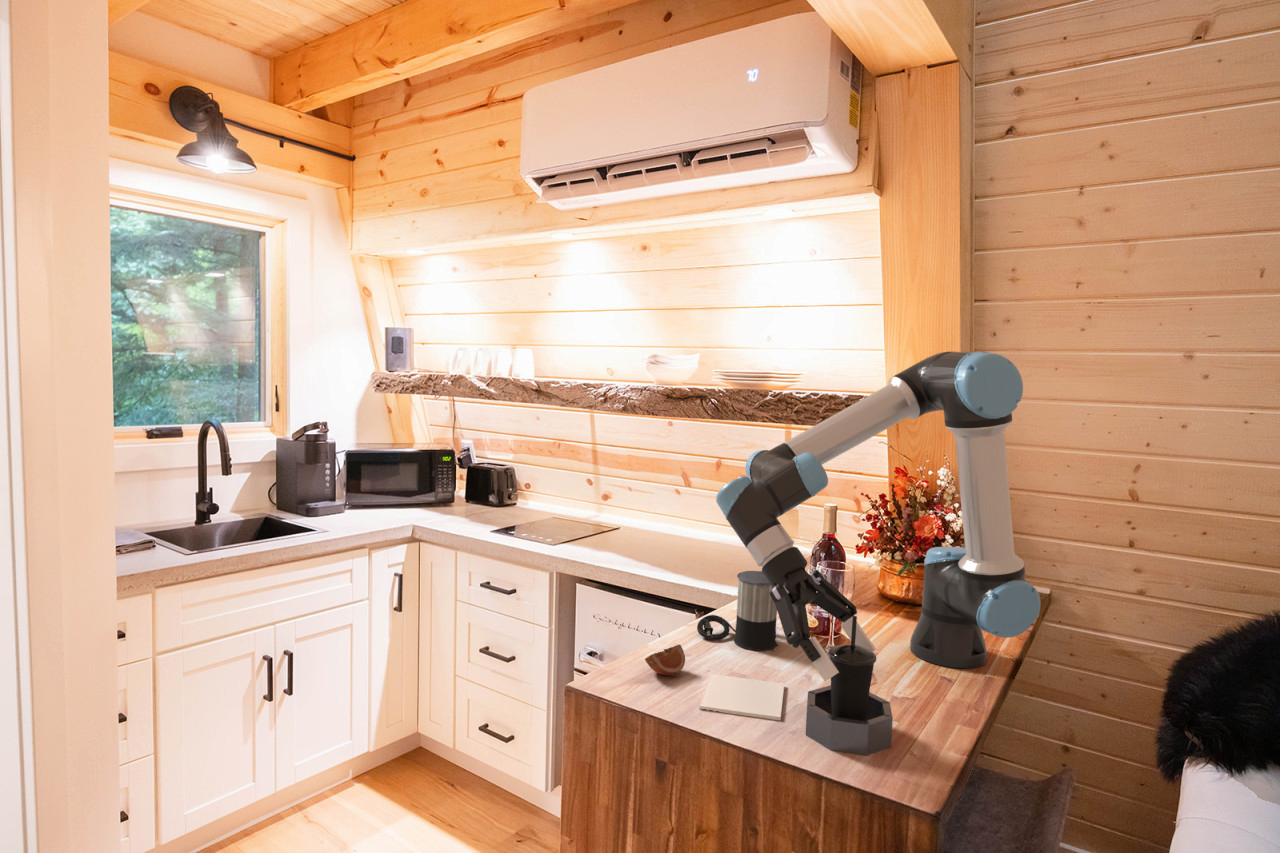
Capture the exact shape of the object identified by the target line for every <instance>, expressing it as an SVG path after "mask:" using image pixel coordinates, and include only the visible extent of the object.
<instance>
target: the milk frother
mask: <svg viewBox="0 0 1280 853" xmlns="http://www.w3.org/2000/svg"><path fill="white" fill-rule="evenodd" d="M736 577H737V579H738V580H737V581H738V582H737V599H736V601H737V603H736V604H737V605H736V621H735V628H734V627H732V625H731V623H729V622H728V621H727V620H726V619H725V618H724V617H722V616H719V615H717V614H716V615H714V614H710V615H705V616H704V617H702V618H701V619H700V620H698V623H697V626H696V631H697V633H698V634H699V635H700V637H703V638H705V639H707V640H713V641H714V640H715V641H718V640H719V641H720V640H723V639H726V638H727V637H728V636H729V633H730V630H732V631H733V632H734V638H733V643H734V644H736V645H737V646H738V647H740V648H743V649H745V650H751V651H761V652H762V651H767V650H769V651H770V650H772V649H774V648H775V647H776V646H777V640H776V638H777V615H778V611H777V608H776V605H775V603H774V601H773V599H772V597H771V596H770V594H769V592H770V591H771V590H772V589H773V588H775V587H776V586H775V587H774V586H771V585H770V583H769V582H768V580H767V579H766V577H765V576H764V574H763V573H762V570H746V571H742V572H738V574H737V575H736ZM713 622H714V623H718V624H719V625H721V626H722V627H723V631H722V632H720V633H718V634H713V631H714V628H713V627H712V625H711V623H713Z"/></svg>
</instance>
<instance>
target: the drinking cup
mask: <svg viewBox="0 0 1280 853" xmlns="http://www.w3.org/2000/svg"><path fill="white" fill-rule="evenodd" d="M857 620H858V617H857V615H854V616H853V619H852V634H851V640H850V643H849V644H848V643H846V644H839V645H834V646H832V647H830V648H829V649H828V654H827V655H828V657H829V658H830V660H831V661H832V663H833V664H834V666H835V667H836V669H837V670H838V672H839V673H837V674H836V675H834V676H833V677H831V678H830V685H831V705H832V715H833V716H834V717H838V718H845V719H853V720H860V721H865V715H866V709H867V703H868V697H869V692H870V689H871V683H872V680H873V679H872V677H873V673H874V667H875V666H874V664H876V662H877V655H876V654H875V653H874V651H873V652H871V651H869V650H867V649H865V648H863V647H861V646H858V645H855V638H856V623H857V622H858V621H857Z"/></svg>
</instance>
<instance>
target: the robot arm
mask: <svg viewBox="0 0 1280 853" xmlns="http://www.w3.org/2000/svg"><path fill="white" fill-rule="evenodd" d="M887 382H888V383H887V385H885V386H883V387H882V388H880V389H878V390H877V391H875V392H873V393H871V394H870V395H868V396H865V397H864V398H862V399H860V400H859V401H856V402H855V403H853V404H852V405H850V406H847V407H846V408H843V409H842V410H840V411H838V412H837V413H835V414H833V415H832V416H830V417H828V418H826V419H824V420H822V421H821V422H819V423H817V424H815V425H814V426H811V427H810V428H808V429H806V430H805V431H803V432H800V433H799V434H797V435H796V436H793V437H792V438H789V439H788V440H787V441H785V442H782V443H781V444H778V445H777V446H775V447H773V448H771V449H770V450H768V449H761V450H757V451H755V452H753V453H752V454H750V456H748V459H747V460H746V463H745V474H746V475H742V476H738V477H737V478H734V479H732V480H731V481H729V482H727V483H726V484H725V485H724V486H722V487H721V488H720V490H719V491H718V492H717V494H716V497H715V498H716V499H715V500H716V501H715V502H716V504H717V506H718V507H719V508H720V510H721V512H722V514H723V515H724V517H725V520H726V521H727V522H728V524H729V525H730V527H731V528H732V529H733V530H734V531H735V533H736V535H737V537H739V539H740V541H741V542H742V544H743V545H744V547H745V548H746V549H747V551H748V552H749V554H750V555H751V557H752V559H753V560H754V561H755V563H756V565H757V566H758V567H761V571H762V573H763V574H764V576H765V577H766V579H767V580H768V582H769V583H770V585H771V586H774V587H775V586H776V587H775V588H773V589H772V590H771V591H770V592H769V594H770V596H771V597H772V599H773V601H774V603H775V605H776V608H777V615H778V617H779V620H780V624H781V627H782V630H783V633H784V636H785V640H786V642H787V644H788V645H790V646H792V647H793V648H795V649H797V648H798V647H801V649H802V650H803V653H804V654H805V655H806V656H807V658H808V659H809V661H810V662H811V663H812V665H813V666H814V668H815V670H817V672H818V674H819V675H820V677H821V678H822V679H823V681H824V682H827V681H829V680H831V677H833V676H834V675H836V674H837V673H839V672H838V670H837V669H836V667H835V666H834V664H833V663H832V661H831V660H830V656H829V654H827V652H826V651H825V649H824V648H823V646H822V644H820V642H819V640H818V639H817V638H816V636H815V635H814V636H812V637H811V631H810V625H809V618H808V613H807V612H808V611H807V605H809V604H810V605H816V606H817V607H818V608H821V609H822V610H823V611H825V612H826V613H827V614H829V615H831V616H832V617H834V618H835V619H837V620H838V621H840V622H842V623H841V624H840V627H841V628H842V629H843V631H844V633H845V634H846V635H847V637H848V638H849V640H850V641H851V634H852V619H853V616H856V615H857V614H858V610H857V607H856V605H854V603H853V602H851V600H849V599H848V598H847V597H846V596H845V595H843V594H842V593H841V591H839V590H838V589H837V588H836V587H835V586H833V584H831V583H830V582H829V580H827V579H826V578H825V577H824V576H823V574H822V572H820V570H818V569H815V570H814V571H812V572H811V573H810V574H809V573H808V572H807V570H806V567H807V565H808V561H807V559H806V558H805V556H804V555H803V554H802V551H800V549H799V548H798V547H796V546H794V544H795V542H794V540H793V539H792V537H791V536H790V534H789V533H788V532H787V531H786V529H785V528H784V526H783V524H781V522H780V520H779V519H778V518H779V517H781V516H782V515H784V514H786V513H787V512H789V511H791V510H793V509H794V508H796V507H797V506H799V505H801V504H803V503H804V502H806V501H807V500H809V499H811V498H814V497H815V496H816V495H817V494H818V493H820V492H821V491H823V490H824V489H825V488H826V487H827V486H828V484H829V477H828V475H827V472H826V470H825V467H824V466H823V465H825V464H826V463H828V462H830V461H832V460H834V459H835V458H837V457H839V456H840V455H842V454H844V453H846V452H847V451H849V450H851V449H853V448H855V447H856V446H858V445H861V444H862V443H864V442H866V441H867V440H870V439H871V438H873V437H875V436H877V435H878V434H880V433H882V432H883V431H886V430H888V429H889V428H891V427H893V426H895V425H897V424H898V423H900V422H901V421H904V420H905V419H910V420H916V419H918V418H919V417H921V416H923V415H926V414H928V413H933V412H937V411H938V412H939V411H943V418H944V425H945V428H946V429H947V430H948V431H949V432H951V433H952V434H953V435H954V440H955V444H954V445H955V451H956V452H955V453H956V463H957V464H956V465H957V472H958V474H957V476H958V484H959V494H960V495H959V496H960V504H961V505H960V506H961V516H962V526H963V527H962V529H963V539H964V547H959V546H935V547H931V548H929V549H928V550H927V551H926V554H925V559H924V564H923V566H924V571H923V587H922V602H921V613H920V617H919V619H918V621H917V623H916V626H915V627H914V630H913V633H912V634H911V636H910V637H911V638H910V641H909V642H910V643H909V644H910V646H909V650H910V651H911V653H912V654H913V655H914V656H915V657H917V658H919V659H921V660H923V661H926V662H929V663H930V664H934V665H939V666H941V667H947V668H952V669H953V668H954V669H955V668H956V669H973V668H980V667H982V666H984V665H985V664H986V663H987V655H988V650H987V646H986V642H985V641H986V640H985V637H984V634H983V631H984V632H986V633H988V634H991V635H993V636H995V637H999V638H1002V639H1003V638H1005V639H1007V638H1014V637H1017V636H1019V635H1022V634H1023V633H1025V632H1026V631H1028V630H1029V629H1030V627H1031V625H1032V624H1034V623H1035V622H1036V620H1037V618H1038V616H1039V613H1040V611H1041V604H1042V603H1041V596H1040V594H1039V592H1038V590H1037V588H1035V587H1034V585H1033V584H1031V583H1030V582H1027V580H1026V578H1027V577H1026V568H1025V562H1024V560H1023V559H1022V558H1021V557H1019V555H1017V554H1016V553H1015V544H1014V541H1015V540H1014V532H1013V531H1014V530H1013V520H1012V519H1013V518H1012V507H1011V497H1010V496H1011V495H1010V484H1009V472H1008V461H1007V450H1006V449H1007V448H1006V438H1005V432H1006V429H1007V428H1009V426H1010V425H1012V423H1013V414H1012V413H1013V412H1014V411H1015V410H1016V409H1017V408H1018V403H1020V402H1021V400H1022V398H1023V393H1024V381H1023V378H1022V375H1021V373H1020V371H1019V370H1018V367H1017V366H1016V365H1015V364H1014V363H1013V362H1012V361H1011V360H1010V359H1008V358H1007V357H1005V356H1003V355H1000V354H998V353H993V352H987V351H984V350H983V351H943V352H939V353H938V352H937V353H935V354H933V355H931V356H929V357H926V358H925V359H923V360H920V361H919V362H917V363H915V364H913V365H911V366H909V367H908V368H906V369H904V370H902V371H901V372H899V373H897V374H895V375H893V376H892V377H890V378H889V379H888V381H887ZM855 645H858V646H861V647H863V648H865V649H867V650H869V651H871V652H873V653H874V652H875V651H876V650H877V648H876V646H874V644H873V642H872V641H871V639H870V638H869V637H868V636H867V633H866V632H865V631H864V629H863V628H862V627H861V626H860V623H859V622H858V621H857V623H856V638H855Z"/></svg>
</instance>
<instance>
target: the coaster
mask: <svg viewBox="0 0 1280 853" xmlns="http://www.w3.org/2000/svg"><path fill="white" fill-rule="evenodd" d="M784 692H785V683H783V682H776V681H770V680H769V681H767V680H760V679H752V678H745V677H737V676H730V675H721V674H715V673H714V674H713V673H710V674H709V678H708V681H707V684H706V687H705V689H704V691H703V694H702V698H701V700H700V704H699V710H702V709H706V710H705V711H709V710H713V711H712V712H716V711H719V712H718V713H725V714H733V715H736V716H737V715H738V716H746V717H752V718H761V719H766V720H774V721H781V719H782V710H783V701H784Z"/></svg>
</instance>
